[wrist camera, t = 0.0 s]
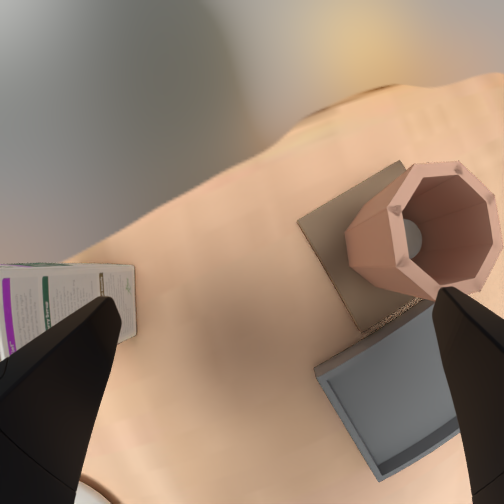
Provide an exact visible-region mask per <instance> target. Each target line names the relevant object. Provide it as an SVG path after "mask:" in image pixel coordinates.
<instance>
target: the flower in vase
mask: <svg viewBox="0 0 504 504" xmlns="http://www.w3.org/2000/svg"><path fill="white" fill-rule="evenodd" d="M74 504H111V503H110V502H109V501H108V500H107V499H106V498H105V497H103V496H102V495H101V494H100V493H98V492H97V491H96V490H94V489H93V488H91V487H90V486H88V485H86V484H84V483H83V482H81V481H79V484H78V488H77V492H76V498H75V502H74Z"/></svg>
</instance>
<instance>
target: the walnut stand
mask: <svg viewBox="0 0 504 504" xmlns="http://www.w3.org/2000/svg"><path fill="white" fill-rule="evenodd" d="M405 171H406V169H405V167H404V166H403V164H402V163H401V161H400V160H399V161H397V162H395V163H394V164H392V165H390V166H389V167H387V168H385V169H384V170H382V171H380V172H378V173H377V174H375V175H373V176H372V177H370V178H368V179H367V180H365V181H363V182H362V183H360V184H358V185H356V186H355V187H353V188H351V189H350V190H348V191H346V192H345V193H343V194H341V195H339V196H338V197H336V198H334V199H333V200H331V201H329V202H328V203H326V204H324V205H323V206H321V207H319V208H317V209H316V210H314V211H312V212H311V213H309V214H307V215H306V216H304V217H302V218H301V219H299V220H297V223H298V225H299V226H300V228H301V230H302V231H303V233H304V235H305V236H306V238H307V240H308V241H309V243H310V245H311V246H312V248H313V250H314V252H315V253H316V255H317V257H318V258H319V260H320V262H321V264H322V265H323V267H324V269H325V270H326V272H327V274H328V276H329V277H330V279H331V281H332V283H333V284H334V286H335V288H336V290H337V291H338V293H339V295H340V297H341V299H342V300H343V302H344V304H345V306H346V308H347V309H348V311H349V313H350V315H351V317H352V318H353V320H354V322H355V324H356V326H357V328H358V329H359V331H360V332H364V331H365V330H367V329H369V328H370V327H372V326H373V325H375V324H376V323H378V322H380V321H381V320H383V319H384V318H386V317H387V316H389V315H390V314H392V313H393V312H395V311H396V310H398V309H399V308H401V307H402V306H404V305H405V304H407V303H408V302H410V301H411V300H412V299H414V298H415V297H414V296H410V295H406V294H402V293H398V292H394V291H390V290H386V289H382V288H378V287H374V285H372V284H371V283H370V282H369V281H367V280H366V279H365V278H363V277H362V276H361V275H360V274H358V273H357V272H356V271H355V270H353V269H352V268H351V267H349V261H348V254H347V247H346V240H345V234H344V232H345V231H346V230H347V228H348V227H349V225H350V224H351V222H352V221H353V220H354V218H355V217H356V215H357V214H358V213H359V211H360V210H361V208H362V206H363V205H365V204H366V203H367V202H368V201H369V200H371V199H372V198H373V197H374V196H376V195H377V194H378V193H379V192H381V191H382V190H383V189H384V188H385V187H387V186H388V185H389V184H390V183H391V182H393V181H394V180H395V179H396V178H398V177H399V176H400V175H401V174H402V173H404V172H405ZM403 221H404V227H405V233H406V240H407V247H408V254H409V259H412V258H413V257H415V256H416V255H417V254H418V252H419V251H420V249H421V246H422V235H421V232H420V229H419V228H418V226H417V225H416V224H415V223H414V222H412V221H410V220H408V219H403Z"/></svg>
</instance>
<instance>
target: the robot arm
mask: <svg viewBox="0 0 504 504" xmlns="http://www.w3.org/2000/svg"><path fill="white" fill-rule="evenodd" d="M432 320H433V324H434V329H435V333H436V337H437V342H438V347H439V351H440V356H441V361H442V365H443V369H444V373H445V376H446V379H447V383H448V386H449V390H450V393H451V397H452V401H453V404H454V408H455V412H456V416H457V420H458V424H459V429H460V433H461V437H462V442H463V447H464V452H465V457H466V462H467V468H468V473H469V479H470V486H471V493H472V502H473V504H504V319H502V318H501V317H499V316H498V315H496V314H495V313H494V312H492V311H491V310H489V309H488V308H486V307H485V306H483V305H482V304H480V303H479V302H477V301H476V300H474V299H472V298H471V297H469V296H468V295H466V294H465V293H463V292H462V291H460V290H458V289H457V288H455V287H453V286H449V287H441V288H440V289H439V291H438V294H437V297H436V300H435V304H434V307H433V311H432ZM121 327H122V320H121V316H120V314H119V312H118V309H117V307H116V304H115V301H114V299H113V298H112V297H110V296H98V297H97V298H95V299H93V300H92V301H90V302H89V303H87V304H86V305H84V306H83V307H81V308H79V309H78V310H76V311H75V312H73V313H72V314H70V315H69V316H67V317H66V318H64V319H63V320H61V321H60V322H58V323H57V324H55V325H54V326H52V327H51V328H49V329H48V330H46V331H45V332H43V333H42V334H40V335H39V336H37V337H36V338H34V339H33V340H31V341H30V342H28V343H27V344H26V345H24V346H23V347H21V348H20V349H18V350H17V351H15V352H14V353H13V354H11V355H10V356H9V357H7V358H5V359H4V360H2V361H1V362H0V504H74V502H75V498H76V492H77V488H78V484H79V479H80V475H81V471H82V467H83V463H84V459H85V456H86V452H87V448H88V444H89V441H90V437H91V434H92V430H93V427H94V423H95V420H96V417H97V413H98V410H99V407H100V403H101V400H102V397H103V394H104V391H105V388H106V385H107V381H108V378H109V375H110V372H111V368H112V365H113V360H114V356H115V352H116V347H117V343H118V339H119V335H120V331H121Z"/></svg>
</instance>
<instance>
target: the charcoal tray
mask: <svg viewBox="0 0 504 504" xmlns="http://www.w3.org/2000/svg"><path fill="white" fill-rule="evenodd" d="M434 304H435V301H431V300H427V299H423V300H422V301H420V302H419V303H417V304H416V305H415V306H413V307H412V308H410V309H409V310H407V311H406V312H404V313H403V314H401V315H400V316H398V317H397V318H396V319H394V320H392V321H391V322H389V323H388V324H386V325H385V326H383V327H382V328H380V329H379V330H377V331H376V332H374V333H372V334H371V335H369V336H368V337H366V338H364V339H363V340H361V341H360V342H358V343H356V344H355V345H353V346H351V347H350V348H348V349H346V350H345V351H343V352H341V353H339V354H338V355H336V356H334V357H333V358H331V359H329V360H327V361H325V362H324V363H322V364H320V365H318V366H317V367H315V368H314V371H315V375H316V379H317V380H318V382H319V384H320V385H321V387H322V389H323V390H324V392H325V394H326V395H327V397H328V399H329V400H330V402H331V404H332V406H333V407H334V409H335V411H336V412H337V414H338V416H339V417H340V419H341V421H342V422H343V424H344V426H345V427H346V429H347V431H348V432H349V434H350V436H351V437H352V439H353V441H354V442H355V444H356V446H357V447H358V449H359V451H360V452H361V454H362V456H363V457H364V459H365V461H366V462H367V464H368V466H369V467H370V469H371V471H372V472H373V474H374V476H375V477H376V479H377V481H378V482H381V481H383V480H385V479H386V478H388V477H390V476H392V475H394V474H396V473H397V472H399V471H401V470H403V469H404V468H406V467H408V466H410V465H411V464H413V463H415V462H416V461H418V460H420V459H421V458H423V457H424V456H426V455H428V454H429V453H431V452H432V451H434V450H435V449H437V448H438V447H440V446H441V445H443V444H444V443H446V442H447V441H448V440H450V439H451V438H453V437H454V436H456V435H457V434H458V433H460V429H459V424H458V420H457V416H456V412H455V408H454V404H453V401H452V397H451V393H450V390H449V386H448V383H447V379H446V376H445V373H444V369H443V365H442V361H441V356H440V351H439V347H438V342H437V337H436V333H435V329H434V324H433V320H432V311H433V307H434Z"/></svg>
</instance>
